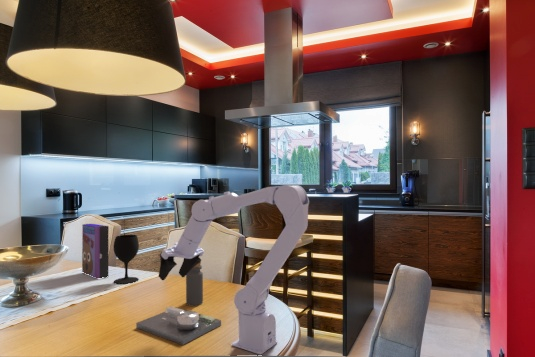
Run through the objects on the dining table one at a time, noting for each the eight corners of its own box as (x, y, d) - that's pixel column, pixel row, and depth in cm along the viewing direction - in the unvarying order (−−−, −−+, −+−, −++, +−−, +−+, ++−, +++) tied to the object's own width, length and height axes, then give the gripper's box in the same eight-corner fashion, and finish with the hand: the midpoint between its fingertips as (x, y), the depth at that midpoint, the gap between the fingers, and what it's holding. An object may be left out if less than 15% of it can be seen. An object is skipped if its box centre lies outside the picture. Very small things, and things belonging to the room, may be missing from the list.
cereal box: (82, 273, 164) (82, 224, 165) (92, 271, 168) (92, 223, 168) (97, 279, 153) (98, 226, 153) (108, 277, 156) (108, 225, 157)
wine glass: (136, 276, 157) (136, 233, 157) (140, 281, 148) (140, 236, 148) (112, 280, 151) (112, 235, 152) (115, 285, 143) (115, 238, 143)
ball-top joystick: (203, 324, 97) (203, 311, 97) (187, 331, 92) (187, 318, 92) (174, 315, 104) (173, 303, 104) (158, 321, 99) (158, 309, 99)
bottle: (195, 299, 124) (195, 258, 125) (206, 302, 121) (206, 260, 121) (182, 303, 120) (182, 261, 120) (193, 307, 116) (192, 263, 117)
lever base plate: (221, 325, 101) (221, 316, 101) (182, 345, 88) (182, 335, 88) (175, 311, 112) (175, 304, 112) (136, 328, 99) (136, 319, 99)
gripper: (201, 229, 104) (182, 266, 106) (164, 229, 92) (143, 270, 94) (215, 242, 100) (195, 280, 102) (178, 244, 88) (157, 286, 90)
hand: (171, 276), depth 98 cm, fingers open, 7 cm apart
